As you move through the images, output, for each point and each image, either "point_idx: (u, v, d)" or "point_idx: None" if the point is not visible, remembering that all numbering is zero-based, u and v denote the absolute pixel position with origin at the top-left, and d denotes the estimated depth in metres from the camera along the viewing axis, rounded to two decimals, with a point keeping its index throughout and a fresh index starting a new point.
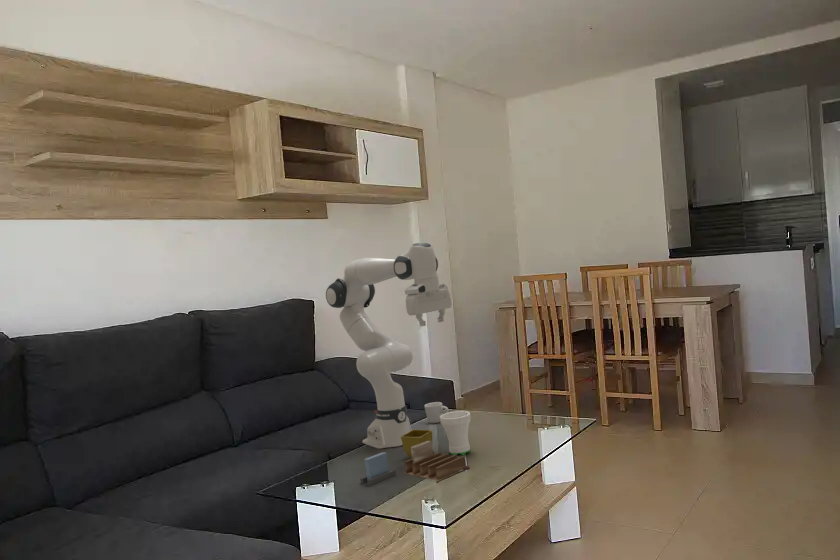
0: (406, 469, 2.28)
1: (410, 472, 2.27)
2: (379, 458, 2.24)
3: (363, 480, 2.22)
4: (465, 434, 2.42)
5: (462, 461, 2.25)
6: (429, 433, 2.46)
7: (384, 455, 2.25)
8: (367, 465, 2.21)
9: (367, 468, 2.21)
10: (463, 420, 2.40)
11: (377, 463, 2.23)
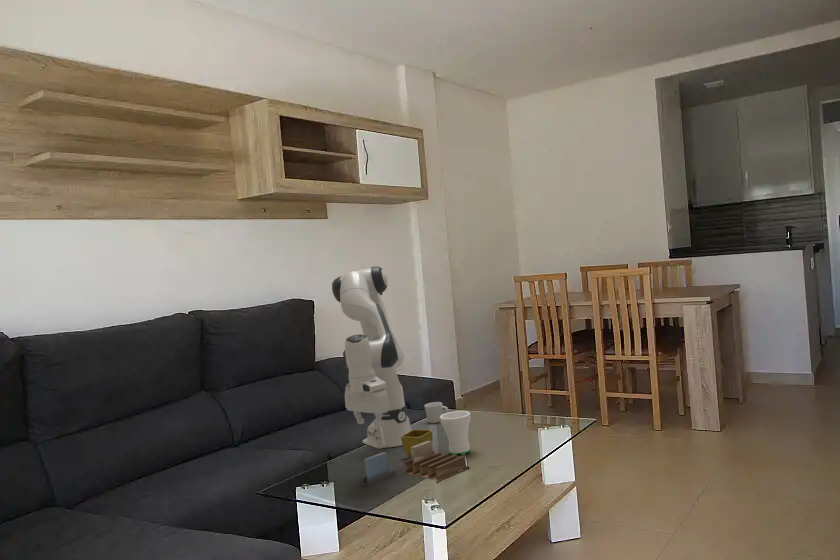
0: (406, 469, 2.28)
1: (410, 472, 2.27)
2: (379, 458, 2.24)
3: (363, 480, 2.22)
4: (465, 434, 2.42)
5: (462, 461, 2.25)
6: (429, 433, 2.46)
7: (384, 455, 2.25)
8: (367, 465, 2.21)
9: (367, 468, 2.21)
10: (463, 420, 2.40)
11: (377, 463, 2.23)
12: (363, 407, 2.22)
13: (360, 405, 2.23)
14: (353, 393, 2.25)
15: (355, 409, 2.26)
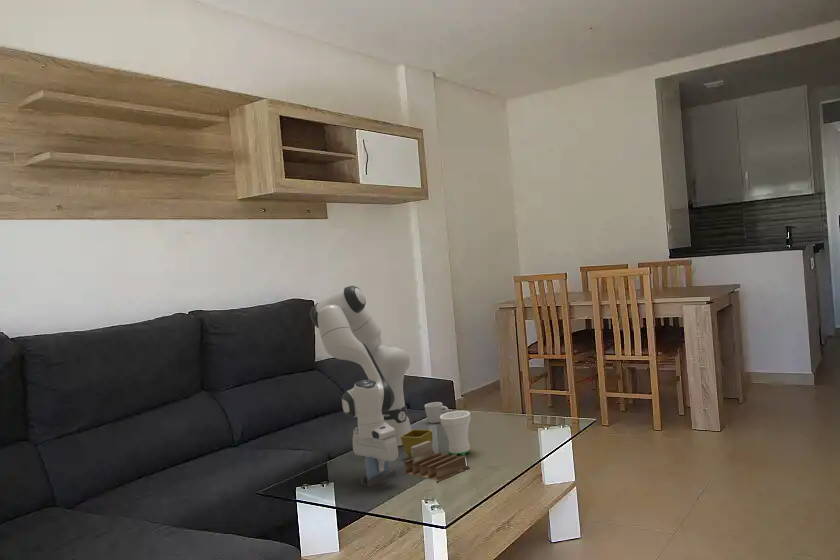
0: (406, 469, 2.28)
1: (410, 472, 2.27)
2: None
3: (363, 480, 2.22)
4: (465, 434, 2.42)
5: (462, 461, 2.25)
6: (429, 433, 2.46)
7: None
8: (367, 465, 2.21)
9: (367, 468, 2.21)
10: (463, 420, 2.40)
11: (377, 463, 2.23)
12: (372, 453, 2.22)
13: (369, 450, 2.23)
14: (361, 438, 2.26)
15: (363, 454, 2.26)
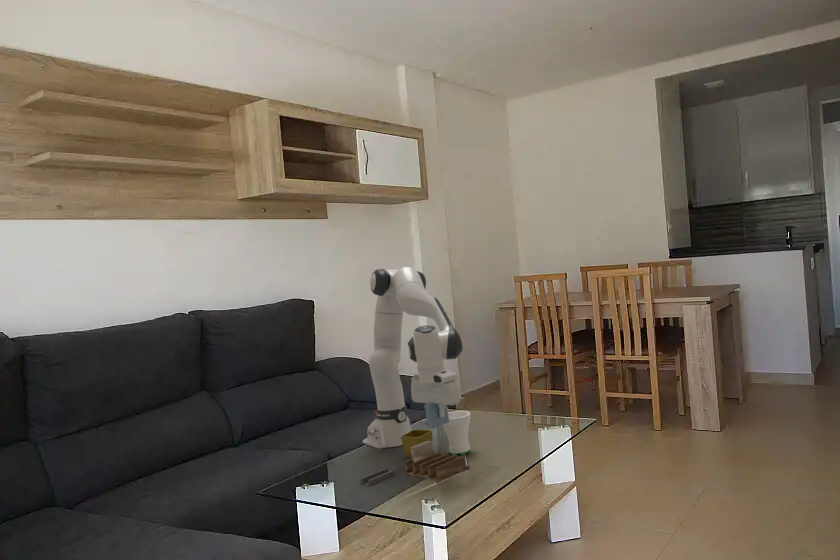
0: (406, 469, 2.28)
1: (410, 472, 2.27)
2: None
3: (363, 480, 2.22)
4: (465, 434, 2.42)
5: (462, 461, 2.25)
6: (429, 433, 2.46)
7: None
8: (428, 410, 2.19)
9: (428, 413, 2.19)
10: (463, 420, 2.40)
11: (438, 409, 2.21)
12: (432, 399, 2.20)
13: (429, 396, 2.22)
14: (421, 384, 2.24)
15: (423, 401, 2.24)
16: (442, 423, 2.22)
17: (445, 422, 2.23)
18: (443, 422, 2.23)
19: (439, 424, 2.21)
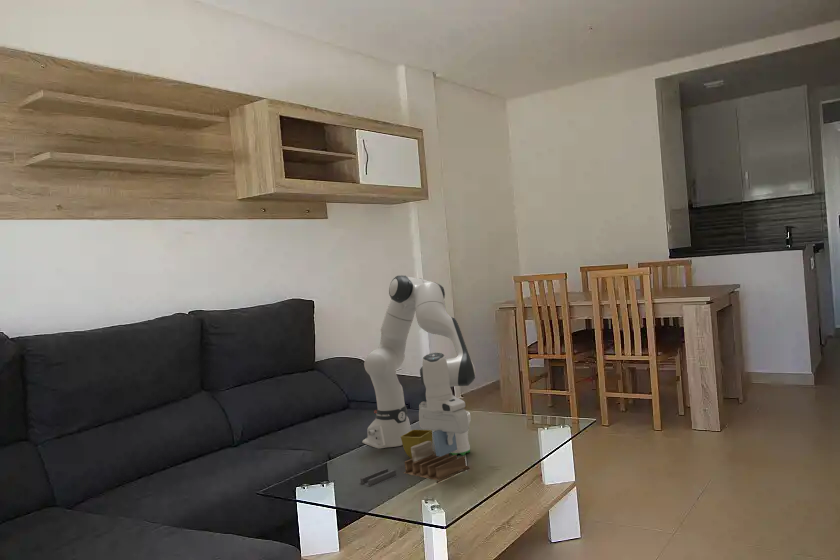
0: (406, 469, 2.28)
1: (410, 472, 2.27)
2: None
3: (363, 480, 2.22)
4: (465, 434, 2.42)
5: (462, 461, 2.25)
6: (429, 433, 2.46)
7: None
8: (436, 438, 2.20)
9: (436, 441, 2.20)
10: None
11: (446, 436, 2.22)
12: (441, 427, 2.21)
13: (437, 424, 2.22)
14: (429, 412, 2.24)
15: (431, 428, 2.24)
16: (450, 450, 2.23)
17: (453, 449, 2.24)
18: (451, 449, 2.23)
19: (447, 451, 2.22)
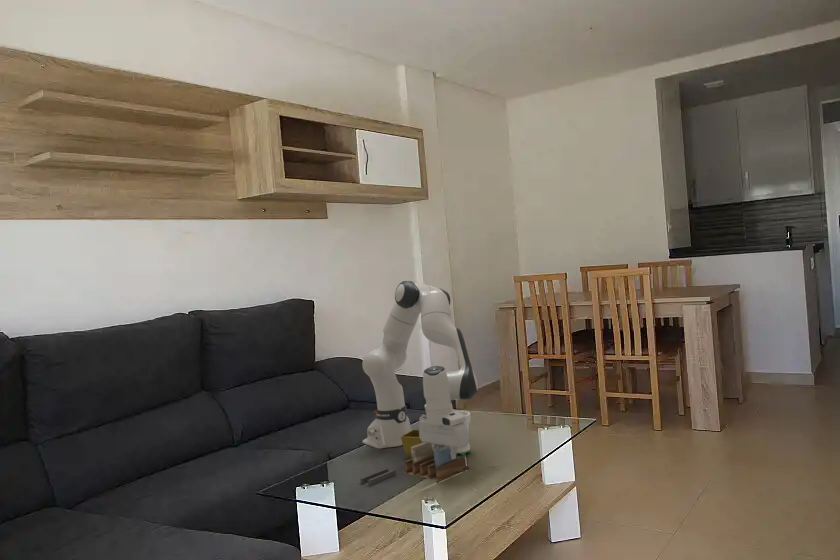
0: (406, 469, 2.28)
1: (410, 472, 2.27)
2: (447, 451, 2.22)
3: (363, 480, 2.22)
4: None
5: (462, 461, 2.25)
6: None
7: None
8: (436, 457, 2.20)
9: (436, 460, 2.20)
10: None
11: (446, 455, 2.22)
12: (440, 440, 2.21)
13: (437, 437, 2.22)
14: (429, 425, 2.24)
15: (431, 441, 2.24)
16: None
17: None
18: None
19: None
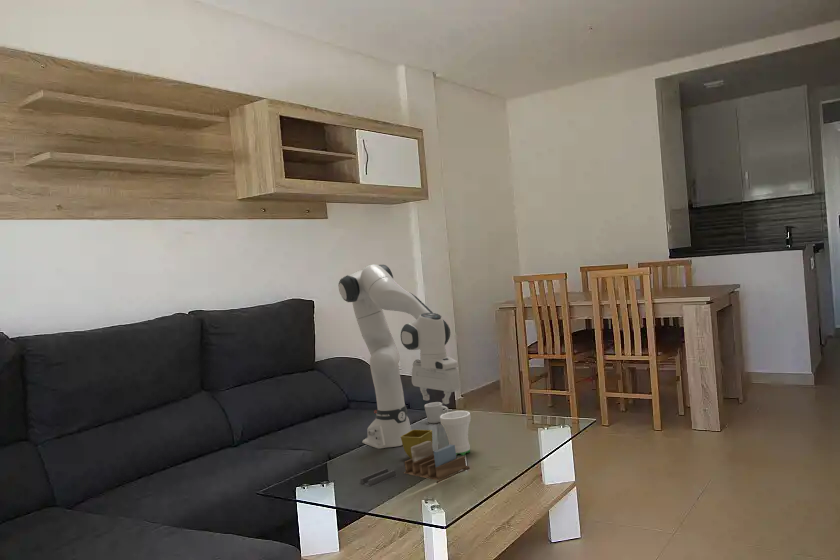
0: (406, 469, 2.28)
1: (410, 472, 2.27)
2: (447, 451, 2.22)
3: (363, 480, 2.22)
4: (465, 434, 2.42)
5: (462, 461, 2.25)
6: (429, 433, 2.46)
7: (452, 447, 2.24)
8: (436, 457, 2.20)
9: (436, 460, 2.20)
10: (463, 420, 2.40)
11: (446, 455, 2.22)
12: (432, 384, 2.26)
13: (429, 381, 2.27)
14: (422, 369, 2.29)
15: (422, 385, 2.29)
16: None
17: None
18: None
19: None
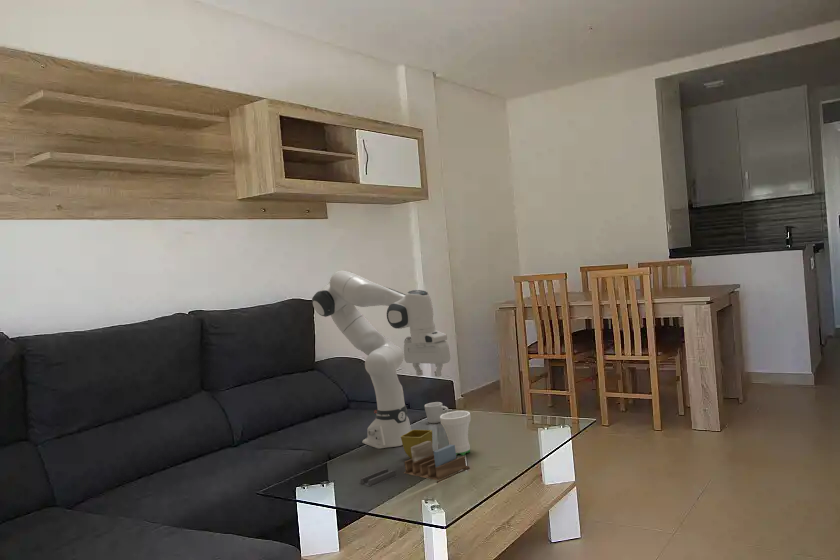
0: (406, 469, 2.28)
1: (410, 472, 2.27)
2: (447, 451, 2.22)
3: (363, 480, 2.22)
4: (465, 434, 2.42)
5: (462, 461, 2.25)
6: (429, 433, 2.46)
7: (452, 447, 2.24)
8: (436, 457, 2.20)
9: (436, 460, 2.20)
10: (463, 420, 2.40)
11: (446, 455, 2.22)
12: (424, 359, 2.33)
13: (420, 356, 2.34)
14: (413, 345, 2.36)
15: (415, 361, 2.36)
16: None
17: None
18: None
19: None
